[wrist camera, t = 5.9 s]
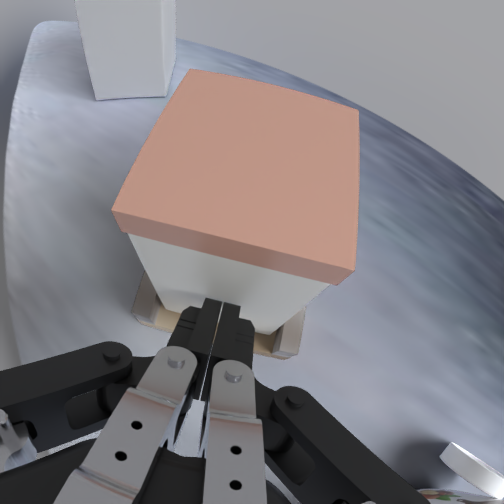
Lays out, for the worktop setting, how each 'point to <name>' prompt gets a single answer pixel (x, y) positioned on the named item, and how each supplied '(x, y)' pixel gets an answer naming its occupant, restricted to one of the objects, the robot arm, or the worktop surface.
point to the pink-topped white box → (245, 197)
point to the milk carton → (128, 46)
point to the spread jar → (468, 479)
